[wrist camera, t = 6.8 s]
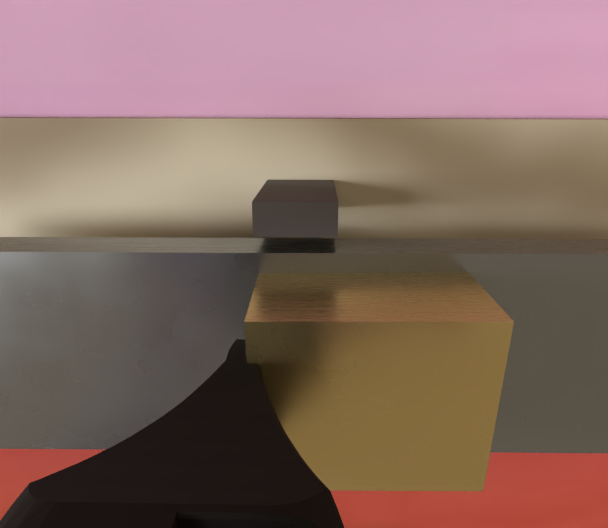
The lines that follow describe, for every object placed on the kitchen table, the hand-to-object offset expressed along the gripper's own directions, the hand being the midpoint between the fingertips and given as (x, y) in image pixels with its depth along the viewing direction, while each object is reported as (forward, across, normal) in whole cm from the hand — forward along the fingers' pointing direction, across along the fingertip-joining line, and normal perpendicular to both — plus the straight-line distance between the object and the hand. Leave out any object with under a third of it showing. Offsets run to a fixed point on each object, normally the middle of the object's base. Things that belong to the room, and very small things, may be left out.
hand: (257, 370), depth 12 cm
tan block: (+1, -3, 0) cm, 3 cm away
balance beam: (+2, -1, 0) cm, 2 cm away
